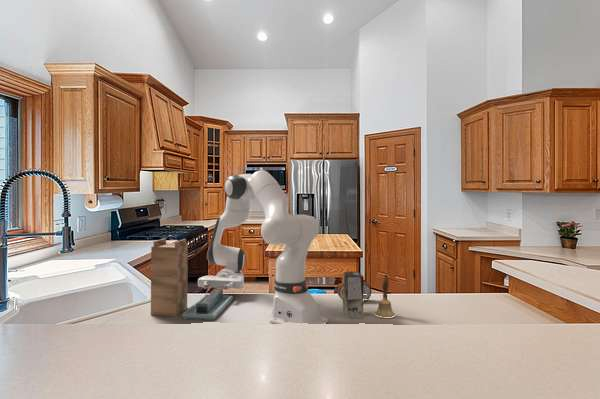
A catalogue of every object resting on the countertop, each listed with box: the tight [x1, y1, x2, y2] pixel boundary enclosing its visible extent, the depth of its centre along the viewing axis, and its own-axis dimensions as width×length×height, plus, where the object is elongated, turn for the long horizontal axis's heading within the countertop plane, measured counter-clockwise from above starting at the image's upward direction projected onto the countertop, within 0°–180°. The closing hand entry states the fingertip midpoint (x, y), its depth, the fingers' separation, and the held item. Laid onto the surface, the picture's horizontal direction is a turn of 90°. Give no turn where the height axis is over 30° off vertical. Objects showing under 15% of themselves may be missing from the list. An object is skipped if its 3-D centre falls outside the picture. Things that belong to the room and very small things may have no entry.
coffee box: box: [342, 271, 365, 319], centre depth 134 cm, size 9×6×16 cm
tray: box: [181, 294, 233, 321], centre depth 137 cm, size 24×12×2 cm, turn 175°
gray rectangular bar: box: [195, 288, 224, 314], centre depth 139 cm, size 20×4×4 cm, turn 175°
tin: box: [337, 281, 372, 301], centre depth 151 cm, size 15×3×8 cm, turn 93°
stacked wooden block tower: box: [150, 238, 189, 317], centre depth 133 cm, size 10×10×28 cm
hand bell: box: [374, 273, 396, 317], centre depth 134 cm, size 8×8×16 cm
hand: (215, 286), depth 145 cm, fingers open, 8 cm apart
